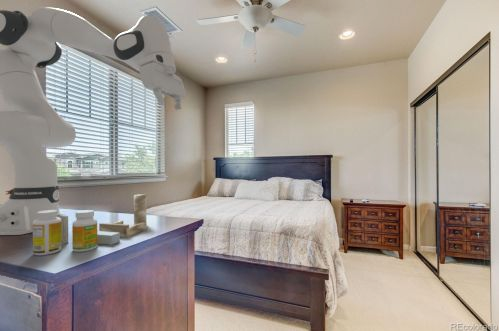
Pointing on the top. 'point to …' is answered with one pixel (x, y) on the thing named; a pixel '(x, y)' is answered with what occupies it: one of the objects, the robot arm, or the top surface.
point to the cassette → (64, 227)
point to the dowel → (139, 208)
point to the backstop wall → (107, 237)
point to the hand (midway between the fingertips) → (170, 107)
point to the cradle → (122, 228)
